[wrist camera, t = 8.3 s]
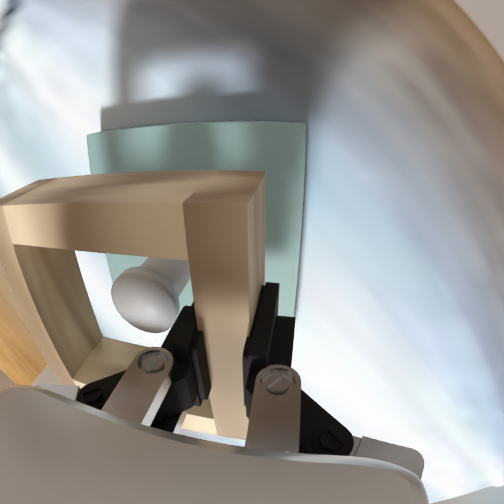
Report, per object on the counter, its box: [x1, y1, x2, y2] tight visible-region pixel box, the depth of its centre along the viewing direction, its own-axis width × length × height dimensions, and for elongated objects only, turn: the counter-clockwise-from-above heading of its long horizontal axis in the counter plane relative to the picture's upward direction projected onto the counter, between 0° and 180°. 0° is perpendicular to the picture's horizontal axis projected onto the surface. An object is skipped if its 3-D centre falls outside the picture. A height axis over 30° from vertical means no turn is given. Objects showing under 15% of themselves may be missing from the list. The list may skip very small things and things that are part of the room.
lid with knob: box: [87, 121, 307, 333], centre depth 16 cm, size 13×14×8 cm
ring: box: [0, 170, 266, 440], centre depth 12 cm, size 11×11×4 cm
